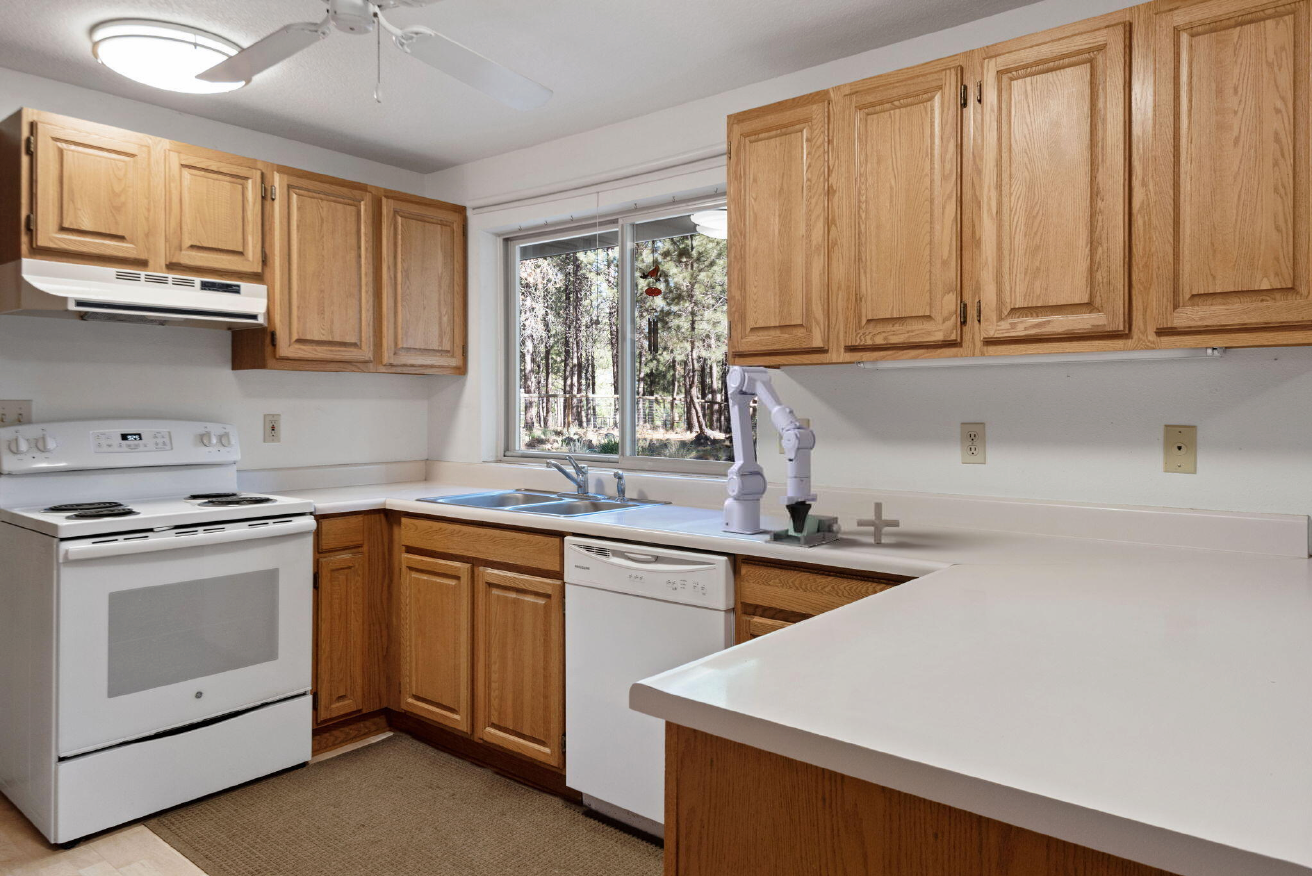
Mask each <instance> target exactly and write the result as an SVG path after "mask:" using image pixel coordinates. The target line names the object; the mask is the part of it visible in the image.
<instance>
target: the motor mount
mask: <svg viewBox="0 0 1312 876" xmlns="http://www.w3.org/2000/svg"><path fill="white" fill-rule="evenodd" d="M808 515H810V516H814V517H818V518H819V522H818V528H817V532H815V533H811V534H807V535H803V536H800V537H799V536H794V535H789V534H788V532H789V528H784V529H780V530H776V531H771V532H769V538H768V539H765V540H763V541H764V543H765V542H767V544H774V545H782V546H783V545H784V546H789V547H798V546H802V547H801V548H806V547H808V548H810V547H809V546H812V547H814V546H813V545H816V544H820V545H822V544H821V543H823V542H827V543H830V542H829V541H831V542H835V541H837V540H836V539H839V540H841V538H842V539H843V536H839V534H840V533H841V531H842V526H841V524H839V517H838V516H833V515H831V516H830V515H822V514H821V515H820V514H811V513H810V514H809V513H808ZM790 520H791V516H790V515H789V521H790ZM834 540H835V541H834ZM816 546H817V545H816Z"/></svg>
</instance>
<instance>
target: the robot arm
mask: <svg viewBox="0 0 1312 876" xmlns="http://www.w3.org/2000/svg"><path fill="white" fill-rule="evenodd" d="M771 382H772V375H771V374H770V373H769V372H768V369H766V368H765V367H764V366H760V367H759V366H757V367H756V366H755V367H754V366H752V367H751V366H739V365H736V366H734V365H733V366H732V368H730V370H729V372H728V374H727V375H726V385H727V397H728V403H729V413H730V423H731V424H730V425H731V435H732V444H733V446H732V447H733V453H734V455H733V456H734V464H733V465H732V466H731V467H730V468H729V469H728V470H727V480H726V490H727V493H728V495H729V496H730V497H728V498H727V499H726V500H725V501H724V505H723V510H722V511H723V519H722V520H723V526H722V527H723V528H722V529H721V531H722V532H728V533H729V532H730V533H737V534H739V533H740V534H747V535H753V534H754V535H755V534H758V533H762V532H767V529H766V528H761V499H763V496H764V495H765V494H766V492H767V488H768V482H767V478H766V477H765V474H764V468H763V467H762V465H761V464H759V463H758V462H756V461H757V460H756V456H755V448H754V447H755V445H754V437H753V435H754V434H753V426H752V416H751V406H750V404H751V402H752V401H753V400H754V399H756V398H757V397H759V400H761V401H762V403H763V404H764V406H766V408H767V409H768V410H769V412H771V415H770V420H771V422H772V423H773V425H774V426H775V428H776V429H777V431H778V433H779V434H780V436H781V437H782V439H781V445H782V446H781V447H782V448H783V449H784V456H785V458H786V460H787V461H786V471H787V472H786V476H787V478H786V479H787V481H786V482H787V484H786V486H787V488H786V490H787V491H786V492H787V493H786V495H782V496H780V497H779V499H780V500H779V502H780V503H779V505H781V506H782V505H784V506H785V508H786V510H787V512H788V513H789V517H790V516H791V519H792V522H793V530H794V532H795V533H802V532H803V529H804V525H805V520H806V516H807V515H808V514H809V512H810V510H811V509H812V506H813V505H812V502H816V503H817V502H818V493H812V481H811V480H812V477H811V476H812V472H811V471H812V469H811V465H812V464H811V462H812V461H811V459H812V457H811V453H812V450H813V449H814V448H815V445H816V441H817V440H816V434H815V433H814V430H813V429H812V428H809V427H806V426H805V425H803V423H802V422H801V420H799V418H798V417H797V415H796V414H795V411H794V409H793V407H790V406H789V405H784V404H783V403H782V400H781V398H780V397H779V396H778V394H777V392H776V390H775V389H774V386H773V385H772V383H771ZM809 502H810V503H809Z"/></svg>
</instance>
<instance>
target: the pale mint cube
mask: <svg viewBox="0 0 1312 876" xmlns="http://www.w3.org/2000/svg"><path fill="white" fill-rule="evenodd" d="M818 522H819V518H818V517H814V516H810V515H807V516H806V520H805V525H804V529H803V532H802V533H795V532H794V530H793V522H792V519H791V520H790V519H789V527H788V529H789V532H788V534H789V535H794V536H799V537H800V536H803V535H807V534H811V533H815V532H817V528H818Z"/></svg>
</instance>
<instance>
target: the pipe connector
mask: <svg viewBox="0 0 1312 876" xmlns="http://www.w3.org/2000/svg"><path fill="white" fill-rule="evenodd" d="M873 508H874V509H873V511H874V512H873V513H874V515H873V517H871V519H870V518H863V519H862V518H857V519H856V527H865V528H866V527H868V528H869V527H870V528H871V527H872V528H873V527H874V528H873V544H875V543H882V542H883V541H882V540H883V539H882V538H883V537H882V533H883V530H884V529H885V528H899V527H900V525H901V523H900V519H883V503H882V502H879V501H878V502H874V506H873Z"/></svg>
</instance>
